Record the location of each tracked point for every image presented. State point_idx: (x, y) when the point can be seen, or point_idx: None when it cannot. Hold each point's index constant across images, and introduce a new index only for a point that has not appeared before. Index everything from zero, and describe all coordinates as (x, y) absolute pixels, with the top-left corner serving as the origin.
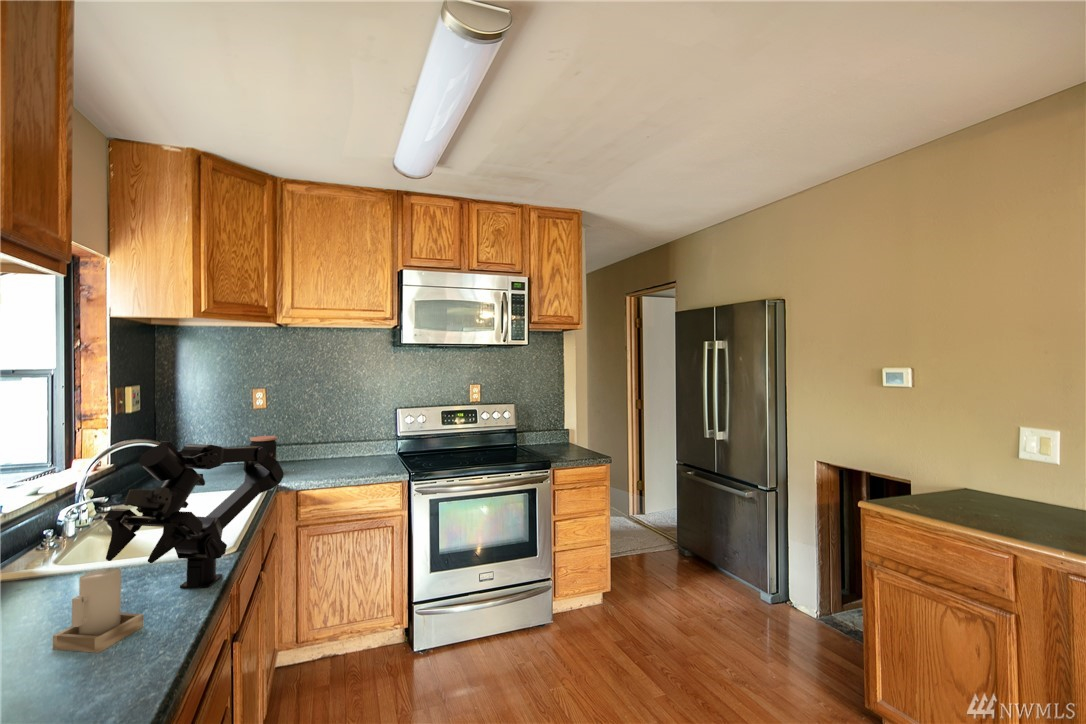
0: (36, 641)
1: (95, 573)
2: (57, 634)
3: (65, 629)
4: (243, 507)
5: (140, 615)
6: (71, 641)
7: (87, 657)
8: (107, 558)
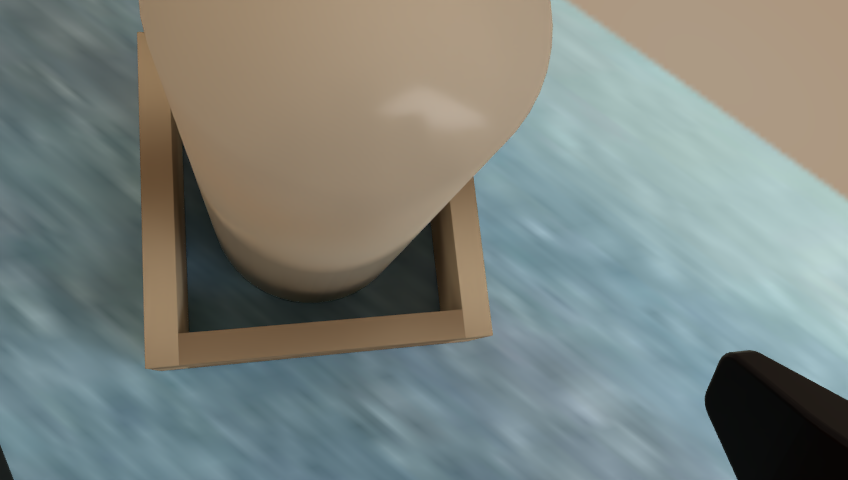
0: (599, 126)
1: (454, 18)
2: None
3: None
4: None
5: (151, 347)
6: None
7: None
8: (728, 354)
